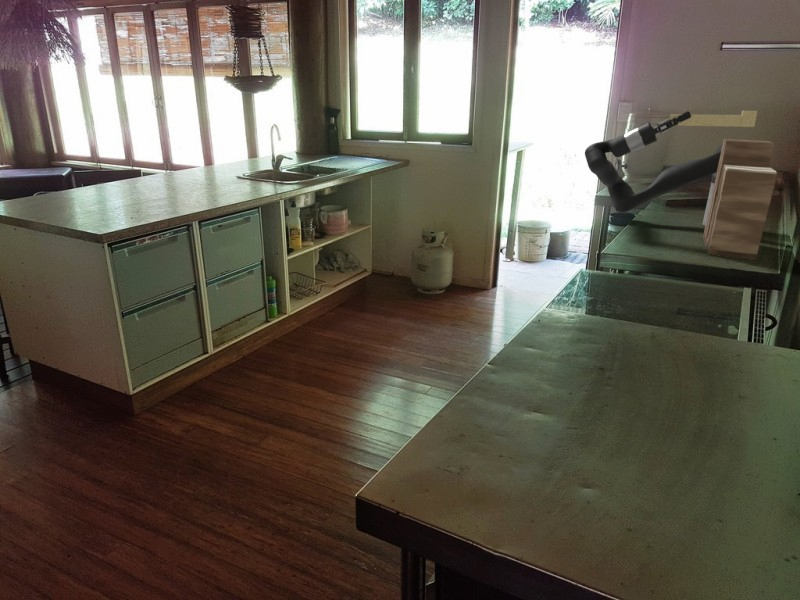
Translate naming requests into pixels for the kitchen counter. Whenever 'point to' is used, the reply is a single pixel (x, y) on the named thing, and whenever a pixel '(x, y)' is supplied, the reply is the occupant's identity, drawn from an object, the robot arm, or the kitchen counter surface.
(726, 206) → the stepped wooden block
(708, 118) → the tan wooden bar
